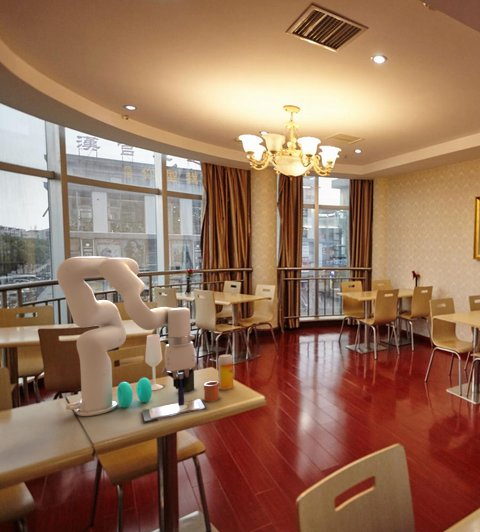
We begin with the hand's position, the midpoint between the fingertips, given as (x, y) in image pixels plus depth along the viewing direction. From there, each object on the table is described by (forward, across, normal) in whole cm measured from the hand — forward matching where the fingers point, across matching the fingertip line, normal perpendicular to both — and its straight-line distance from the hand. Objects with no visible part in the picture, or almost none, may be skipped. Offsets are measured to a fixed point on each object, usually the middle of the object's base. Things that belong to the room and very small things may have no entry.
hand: (180, 387), depth 150 cm
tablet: (+9, +2, -2) cm, 10 cm away
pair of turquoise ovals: (+9, +14, -19) cm, 25 cm away
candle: (+10, -5, -23) cm, 25 cm away
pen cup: (+9, -12, -6) cm, 16 cm away
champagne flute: (+9, +6, -37) cm, 38 cm away
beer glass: (+10, -20, -17) cm, 28 cm away
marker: (+7, 0, 0) cm, 7 cm away
